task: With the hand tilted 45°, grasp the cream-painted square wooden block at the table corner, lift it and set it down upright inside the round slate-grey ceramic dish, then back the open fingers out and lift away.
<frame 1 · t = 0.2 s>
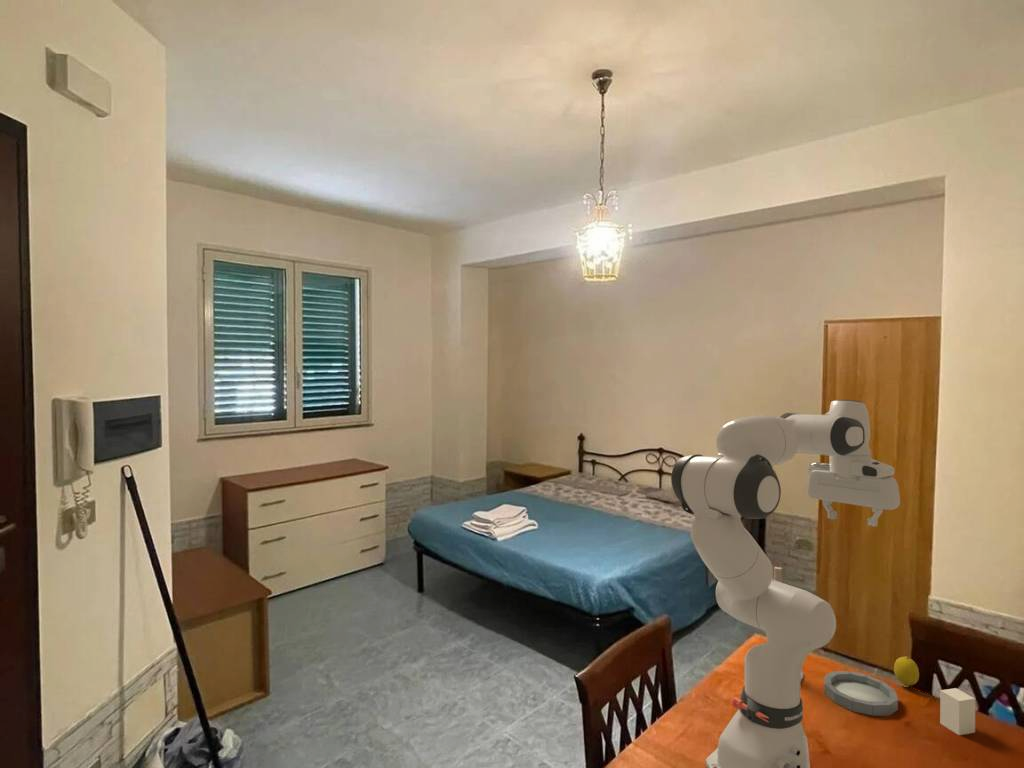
hand: (851, 522, 138), 48 cm above the table, tool pointing down, fingers open, 8 cm apart
lemon: (906, 686, 151), on the table
dish: (859, 697, 146), on the table
candlestick: (778, 672, 159), on the table
block: (957, 727, 133), on the table
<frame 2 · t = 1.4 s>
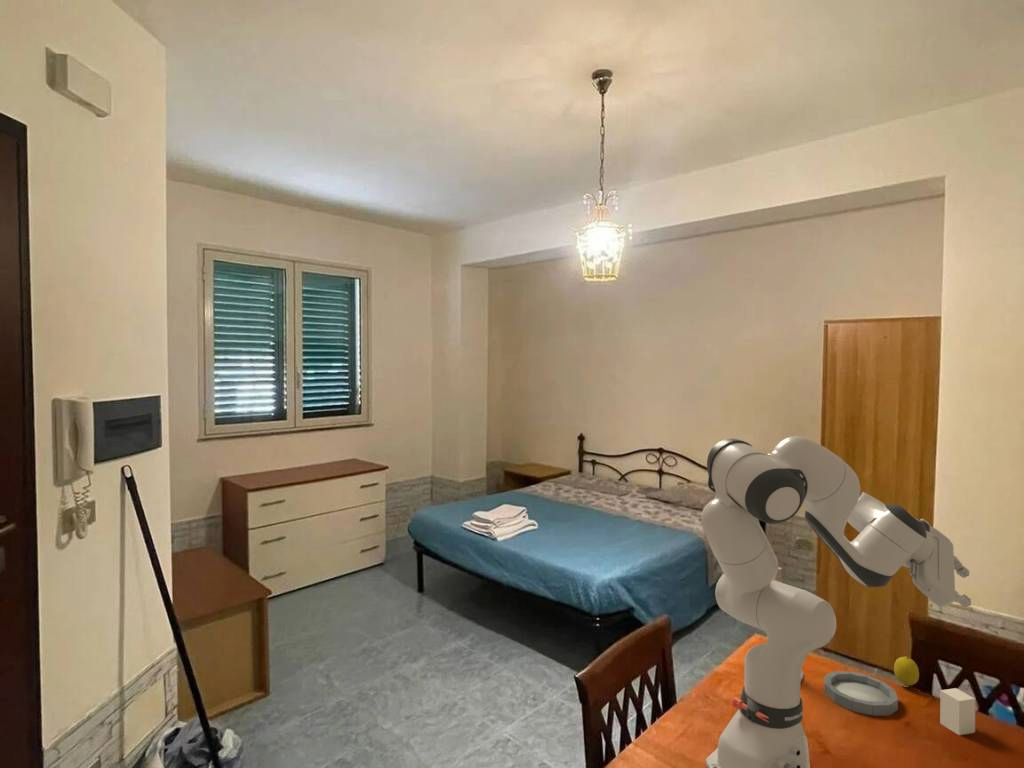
hand: (967, 588, 126), 36 cm above the table, tool tilted 50°, fingers open, 8 cm apart
nothing on the table moved.
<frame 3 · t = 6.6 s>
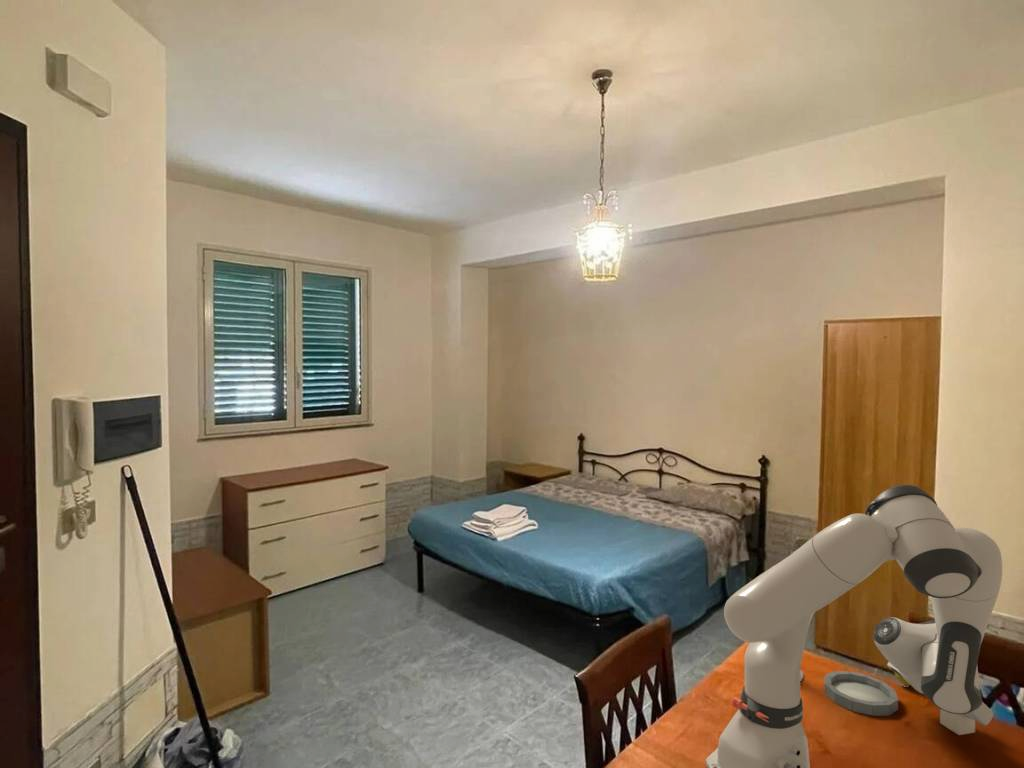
hand: (959, 709, 134), 4 cm above the table, tool tilted 45°, fingers closed on block, 5 cm apart
block: (957, 727, 133), on the table, touching gripper
everything else where it was.
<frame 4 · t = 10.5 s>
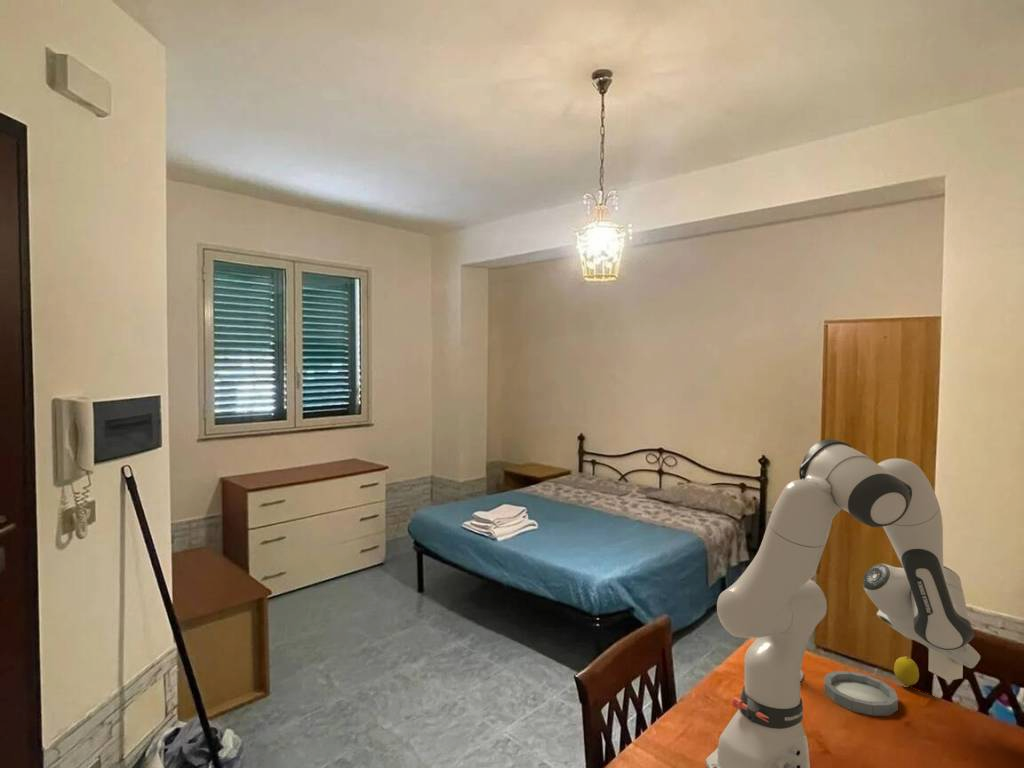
hand: (947, 655, 135), 16 cm above the table, tool tilted 45°, fingers closed on block, 5 cm apart
block: (945, 674, 135), point 12 cm above the table, touching gripper
everything else where it was.
when the fingers open (7 cm above the table, at t = 14.0 s): block drops 2 cm, resting on dish.
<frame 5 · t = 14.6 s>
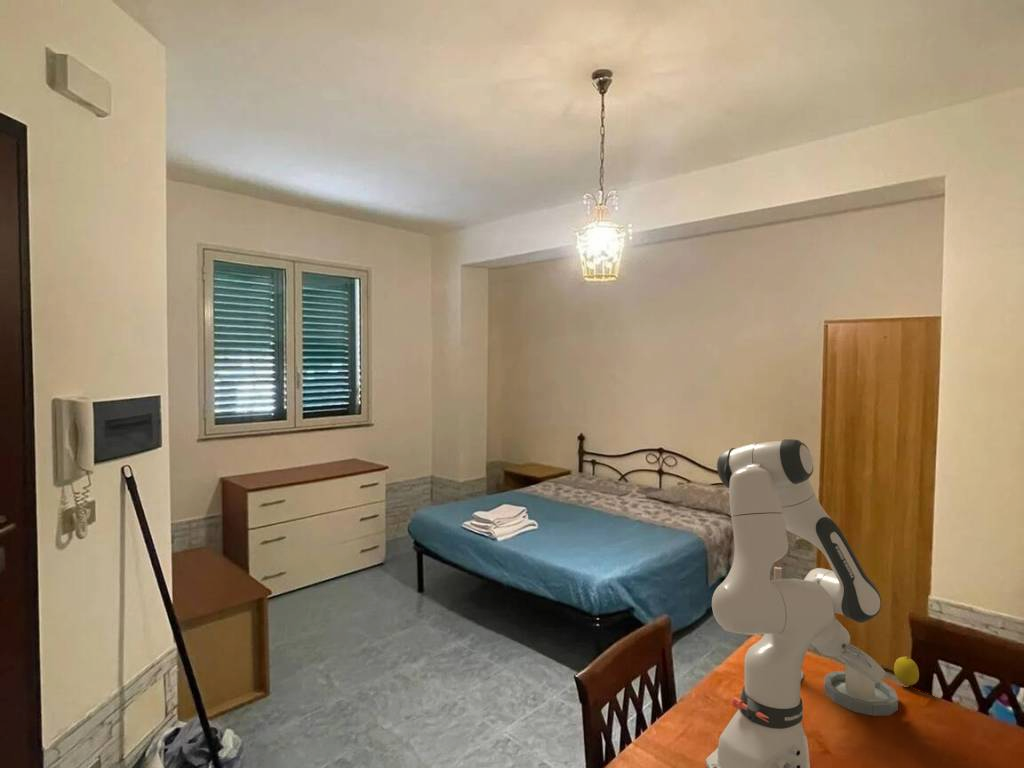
hand: (861, 670, 146), 7 cm above the table, tool tilted 45°, fingers open, 8 cm apart
block: (859, 694, 146), point 1 cm above the table, touching dish
everything else where it was.
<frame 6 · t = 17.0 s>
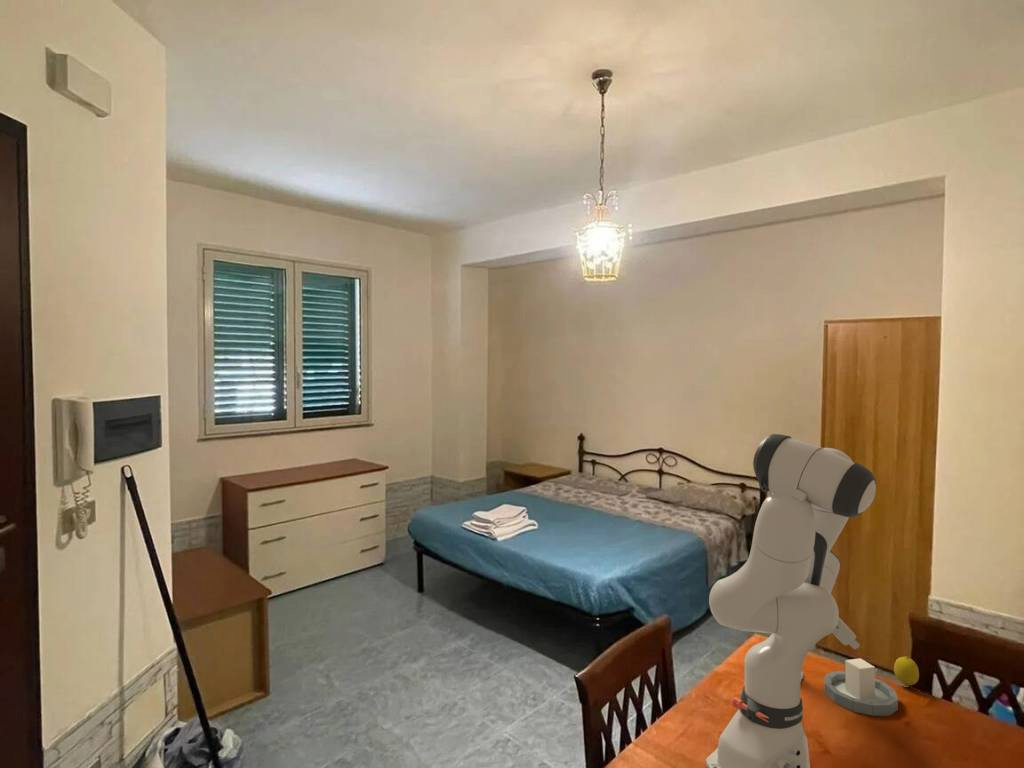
hand: (847, 636, 143), 17 cm above the table, tool tilted 45°, fingers open, 8 cm apart
nothing on the table moved.
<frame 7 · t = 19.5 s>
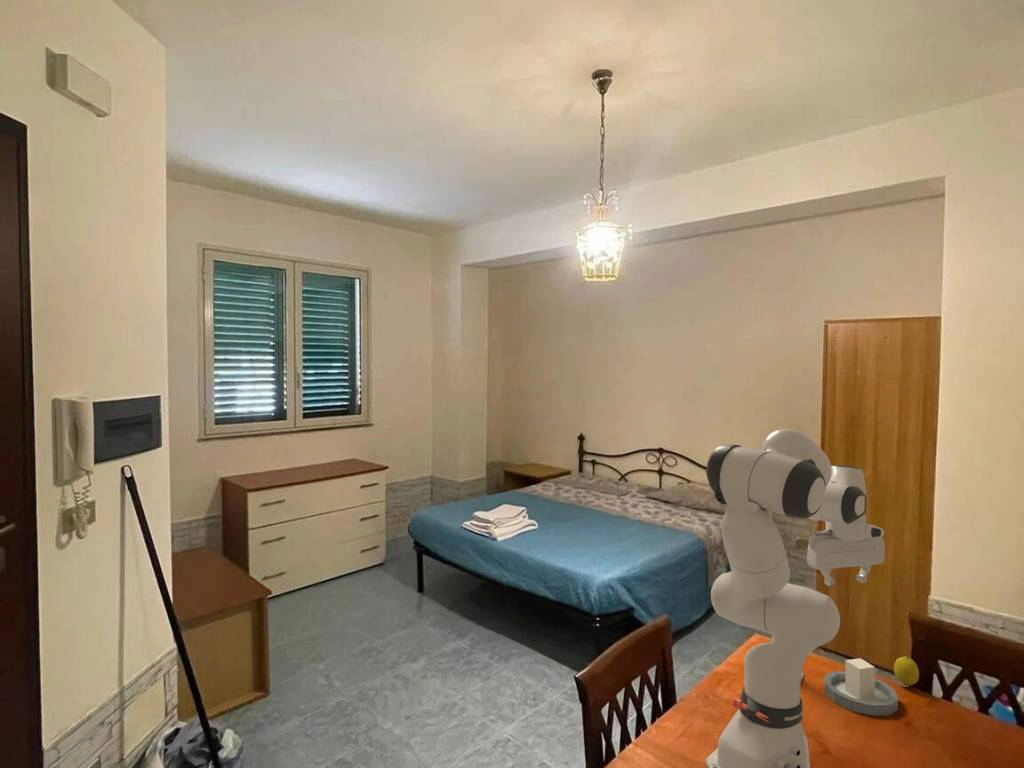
hand: (845, 583, 142), 31 cm above the table, tool pointing down, fingers open, 8 cm apart
nothing on the table moved.
at the end: block inside the target area on the dish (0.0 cm from its centre), point 0.8 cm above the dish's base; block tilted 0°; the gripper is holding nothing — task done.
